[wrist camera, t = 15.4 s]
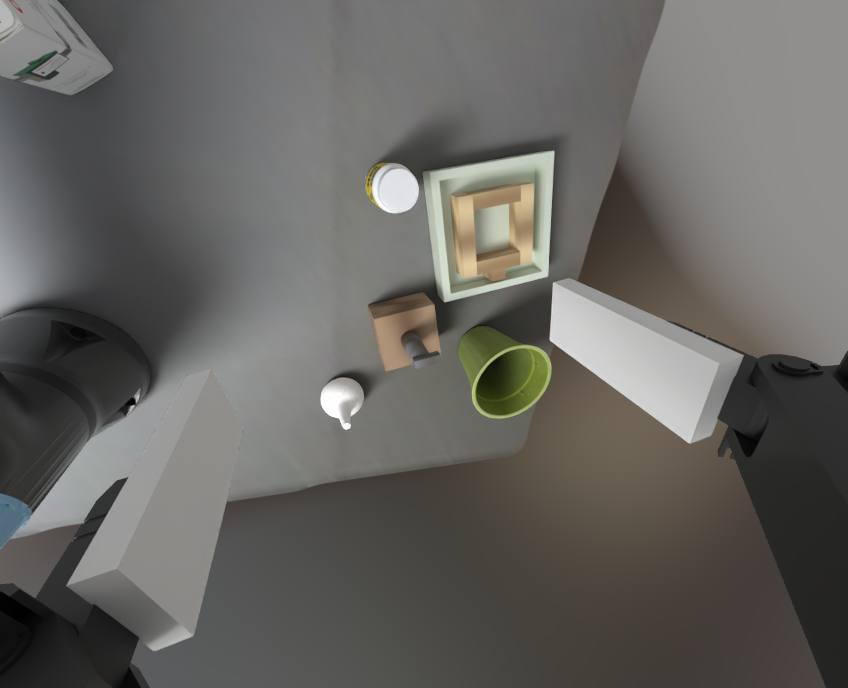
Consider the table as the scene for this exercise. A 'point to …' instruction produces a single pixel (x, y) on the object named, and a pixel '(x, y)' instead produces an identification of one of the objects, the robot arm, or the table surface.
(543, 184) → the tray
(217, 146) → the table surface
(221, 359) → the table surface
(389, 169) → the supplement bottle
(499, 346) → the plant pot
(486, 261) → the wooden frame with peg
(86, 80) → the ink box
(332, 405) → the garlic bulb
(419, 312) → the wooden block
